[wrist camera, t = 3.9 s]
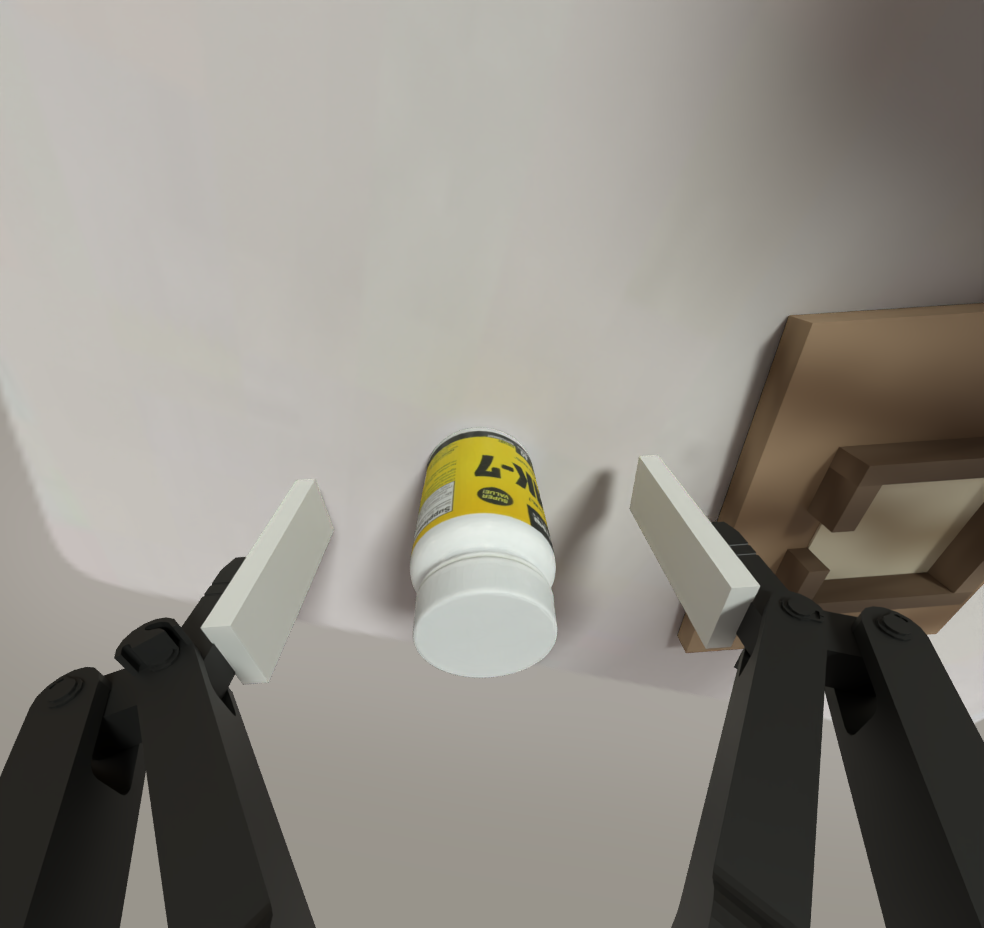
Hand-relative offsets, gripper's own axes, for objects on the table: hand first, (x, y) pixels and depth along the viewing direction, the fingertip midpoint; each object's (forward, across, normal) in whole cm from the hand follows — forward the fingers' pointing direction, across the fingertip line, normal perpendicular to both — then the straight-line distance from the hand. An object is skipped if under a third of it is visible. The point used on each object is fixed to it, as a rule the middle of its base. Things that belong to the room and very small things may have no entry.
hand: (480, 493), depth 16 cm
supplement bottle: (+2, 0, 0) cm, 2 cm away
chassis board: (+2, +20, -4) cm, 20 cm away
